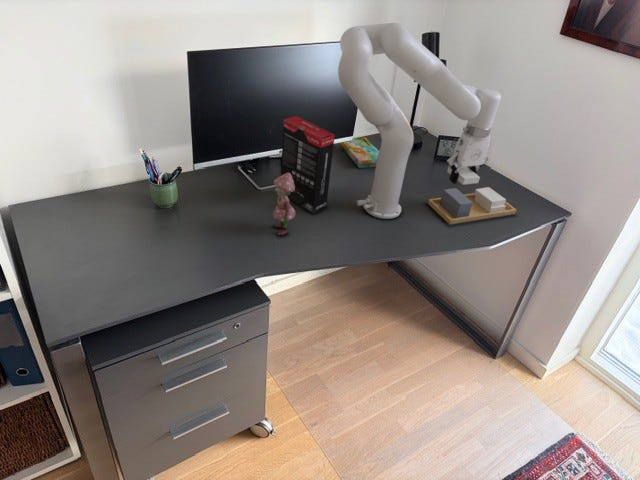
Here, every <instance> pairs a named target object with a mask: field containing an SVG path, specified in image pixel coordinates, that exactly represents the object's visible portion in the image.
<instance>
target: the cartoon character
mask: <svg viewBox="0 0 640 480" xmlns="http://www.w3.org/2000/svg"><path fill="white" fill-rule="evenodd" d="M273 185H274V186H275V187H276V188H275V189H274V190H275V191H276V192H275V193H276V195H277V201H276V204H277V205H276V207H275V208H274V210H273V212H272V218H273V219H274V220H276V221H277V222H280V223H277V224H275V225H274V227H275V228H276V229H277V228H278V229H282V230H281V231H280V232H278V236H283V235H284V236H285V235H287V234H288V222H289V221H292V220H293V219H294V218H295V216H296V210H295V209H294V206H292V205H291V203H290V199H289V198H288V197H287V195H289V194H290V193H291V192H293V191H294V190H295V185H294V181H293V178H292V176H291V174H290V173H286V174H283V175H282V176H281V175H279V176H278V177H277V178H275V179H274V181H273Z"/></svg>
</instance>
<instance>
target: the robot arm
mask: <svg viewBox="0 0 640 480" xmlns="http://www.w3.org/2000/svg"><path fill="white" fill-rule="evenodd" d="M339 41H340V42H339V45H340V47H339V48H340V50H341V56H340V59H339V62H338V68H337V75H338V81H339V83H340V85H341V87H342V88H343V89H344V91H345V92H346V93H347V95H348V96H349V98H350V99H351V101H352V102H353V103H354V105H355V106H356V108H357V109H358V110H359V112H360V113H361V115H362V116H363V118H364V119H365V120H366V121H367V122H368V123H369V124H371V125H374V127H375V128H376V129H377V131H378V133H379V137H380V139H381V143H380V148H379V149H378V151H379V153H378V157H377V162H376V167H375V170H374V176H373V180H372V187H371V191H370V194H368V195H367V198H364V199H360V200H359V199H357V200H356V206H357V207H363V209H364V210H365V211H366V212H367V213H368V214H369V215H371V216H373V217H375V218H378V219H384V220H385V219H386V220H390V219H395V218H397V217H399V216H400V214H401V213H402V206H401V205H400V203H399V202H400V197H401V194H402V193H401V192H402V188H403V183H404V179H405V173H406V169H407V166H408V165H407V164H408V160H409V158H410V154H411V151H412V148H413V146H414V140H415V137H414V136H415V135H414V131H413V129H412V126H411V124H410V123H409V121H408V118H406V115H405V114H404V112H403V111H402V110H401V108H400V107H399V106H398V104H397V102H396V101H395V99H394V98H393V97H392V96H391V94H390V93H389V92H388V90H387V89H386V88H385V87H384V86H382V85H381V84H378V83H377V81H376V80H375V78H374V77H373V76H372V74H371V73H370V71H369V66H370V62H371V60H372V58H373V56H374V55H381V54H383V55H385V56H386V57H387V58H388V59H389V60H390V61H391V62H392V63H394V65H396V66H397V67H398V68H400V69H401V70H402V71H403V72H405V74H407V75H408V76H409V77H410V78H411V79H412V80H414V81H415V82H416V83H417V84H418V85H420V86H421V88H423V89H424V90H425V91H426V92H427V93H428V94H430V95H431V96H432V97H433V98H434V99H435V100H437V101H438V102H439V103H440V104H441V105H442V106H444V108H446V109H447V110H448V111H449V112H451V114H453V115H454V116H455V117H457V118H458V119H460V120H462V121H466V124H465V126H463V127H462V132H461V134H460V136H459V138H458V141H457V143H456V145H455V148H454V151H453V154H452V155H451V156H450V157H449V158H447V160H446V163H447V165H448V167H449V166H450V168H451V169H452V172H451V174H449V175H450V176H449V179H448V180H449V181H450V182H451V183H452V184H453V185H457V182H458V180H457V179H458V176H459V173H458V172H459V170H460V169H461V167H468V168H469V169H470V170H472V171H473V172H474V173H476V174H477V172H479V171H480V168H482V167H483V166H484V164H485V163H487V162H488V161H489V158H488V153H489V149H490V143H491V135H490V133H491V131H492V127H493V125H494V121H495V119H496V115H497V112H498V109H499V106H500V104H501V100H502V94H501V93H500V92H499V91H497V90H495V89H492V88H487V87H486V88H485V87H484V88H483V87H482V88H480V87H474V86H472V85H468V84H463V83H462V82H460V80H459V79H458V78H456V77H455V75H454V74H453V73H451V71H450V70H449V69H448V67H447V66H446V64H444V62H443V61H442V60H440V58H439V57H437V56H436V54H434V53H433V52H432V51H431V50H429V49H428V48H427V47H426V46H425V45H424V44H423V43H422V42H420V41H419V40H418V39H417V38H416V37H415V36H414V35H413V34H411V32H410V31H408V29H407V28H406V27H405V26H404V25H402V24H401V23H397V22H386V23H377V24H365V25H356V26H351V27H349V28H347V29H346V30H345V31H344V32H343V33H342V35H341V37H340V40H339ZM457 165H458V167H457V168H456V166H457Z"/></svg>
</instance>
